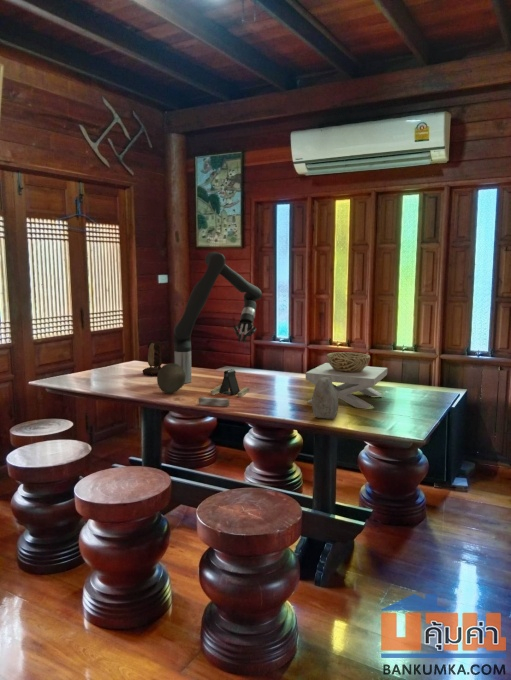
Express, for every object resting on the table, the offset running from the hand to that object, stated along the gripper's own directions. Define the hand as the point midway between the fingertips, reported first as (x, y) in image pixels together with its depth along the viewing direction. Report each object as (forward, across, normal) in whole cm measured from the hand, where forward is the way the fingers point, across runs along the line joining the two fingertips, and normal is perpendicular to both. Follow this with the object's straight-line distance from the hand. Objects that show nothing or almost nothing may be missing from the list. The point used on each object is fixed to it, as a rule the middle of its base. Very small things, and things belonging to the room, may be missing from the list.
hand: (241, 341), depth 283 cm
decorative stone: (+52, +52, -18) cm, 76 cm away
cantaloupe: (+38, -28, -4) cm, 48 cm away
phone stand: (+33, 0, +2) cm, 33 cm away
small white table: (+29, +58, +5) cm, 65 cm away
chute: (+39, 0, -5) cm, 39 cm away
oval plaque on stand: (+7, -57, +27) cm, 64 cm away
